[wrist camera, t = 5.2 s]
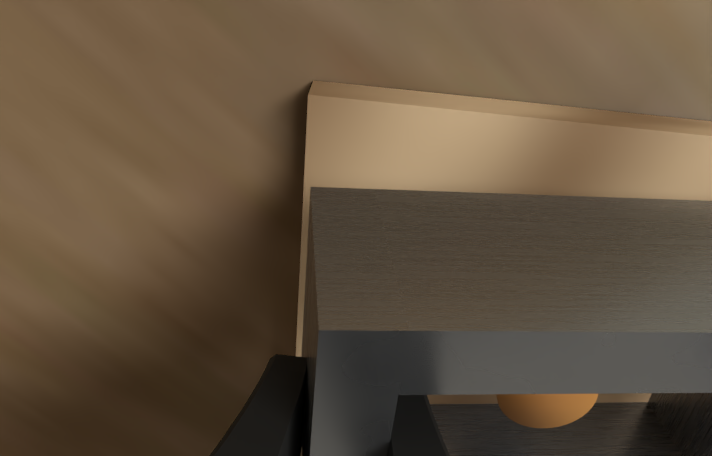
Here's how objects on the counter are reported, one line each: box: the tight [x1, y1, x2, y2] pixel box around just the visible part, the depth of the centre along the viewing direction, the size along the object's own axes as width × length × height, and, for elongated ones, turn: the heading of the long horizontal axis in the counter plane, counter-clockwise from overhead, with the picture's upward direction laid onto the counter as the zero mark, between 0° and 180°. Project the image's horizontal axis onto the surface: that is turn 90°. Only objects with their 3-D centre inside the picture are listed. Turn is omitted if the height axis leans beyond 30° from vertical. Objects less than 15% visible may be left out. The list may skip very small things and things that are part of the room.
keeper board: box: [296, 80, 712, 428], centre depth 14 cm, size 11×9×4 cm
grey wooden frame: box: [300, 187, 712, 456], centre depth 12 cm, size 10×7×4 cm
